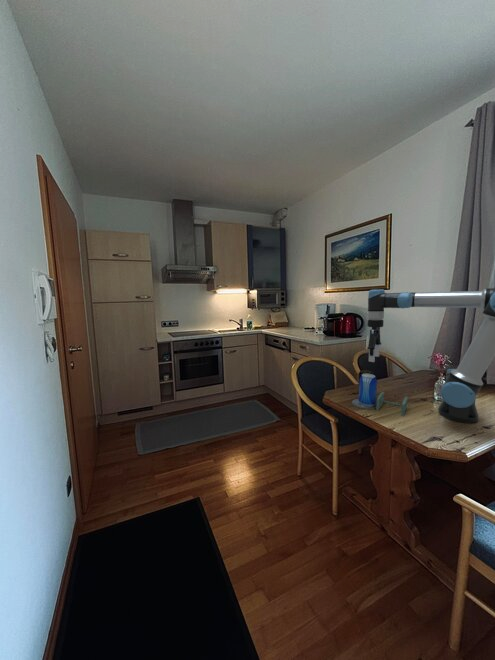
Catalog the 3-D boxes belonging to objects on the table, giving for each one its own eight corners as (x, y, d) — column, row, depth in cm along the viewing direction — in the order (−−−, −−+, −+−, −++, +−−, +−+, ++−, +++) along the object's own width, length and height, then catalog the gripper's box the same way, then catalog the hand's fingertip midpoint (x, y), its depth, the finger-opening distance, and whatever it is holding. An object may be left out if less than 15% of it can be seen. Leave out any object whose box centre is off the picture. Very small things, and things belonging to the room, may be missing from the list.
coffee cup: (374, 395, 153) (375, 374, 151) (359, 394, 155) (360, 373, 153) (370, 389, 161) (371, 369, 160) (356, 389, 163) (357, 369, 161)
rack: (407, 407, 137) (408, 396, 136) (403, 416, 127) (404, 404, 126) (381, 401, 144) (382, 391, 143) (376, 409, 134) (376, 398, 133)
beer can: (373, 408, 134) (375, 379, 132) (356, 404, 139) (357, 376, 137) (377, 403, 140) (378, 374, 138) (360, 399, 146) (362, 372, 143)
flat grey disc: (378, 403, 142) (378, 402, 142) (373, 411, 132) (373, 410, 132) (355, 398, 149) (355, 397, 149) (349, 405, 140) (349, 404, 140)
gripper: (372, 317, 147) (371, 353, 150) (362, 321, 127) (361, 363, 130) (387, 317, 143) (385, 355, 146) (379, 321, 123) (377, 365, 126)
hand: (374, 359), depth 138 cm, fingers open, 13 cm apart
